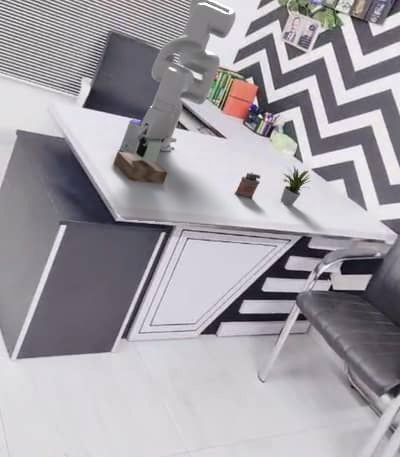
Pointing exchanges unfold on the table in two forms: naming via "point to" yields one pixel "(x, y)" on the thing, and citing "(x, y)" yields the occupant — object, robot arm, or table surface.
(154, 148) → the sage box
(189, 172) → the table surface
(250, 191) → the lighter
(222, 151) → the table surface
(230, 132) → the table surface
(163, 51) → the robot arm
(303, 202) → the table surface
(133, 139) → the ink cartridge box
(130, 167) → the walnut block
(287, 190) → the house plant
